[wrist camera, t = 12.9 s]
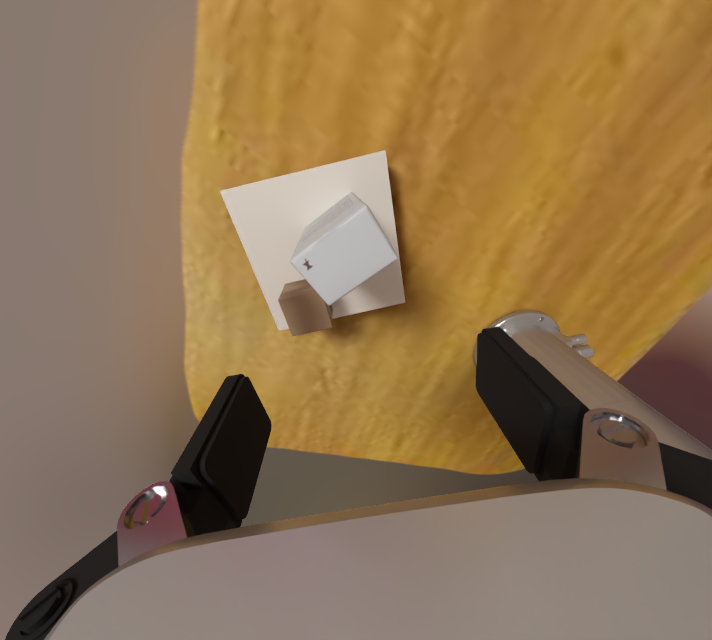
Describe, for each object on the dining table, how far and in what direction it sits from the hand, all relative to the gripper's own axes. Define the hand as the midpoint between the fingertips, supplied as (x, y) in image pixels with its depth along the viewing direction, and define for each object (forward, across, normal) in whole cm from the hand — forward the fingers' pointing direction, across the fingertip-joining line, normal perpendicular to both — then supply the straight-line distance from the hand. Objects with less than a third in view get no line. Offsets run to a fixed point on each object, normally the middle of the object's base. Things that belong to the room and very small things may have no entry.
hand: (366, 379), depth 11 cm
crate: (+20, +6, +4) cm, 22 cm away
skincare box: (+21, 0, -3) cm, 21 cm away
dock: (+24, +3, -1) cm, 24 cm away
